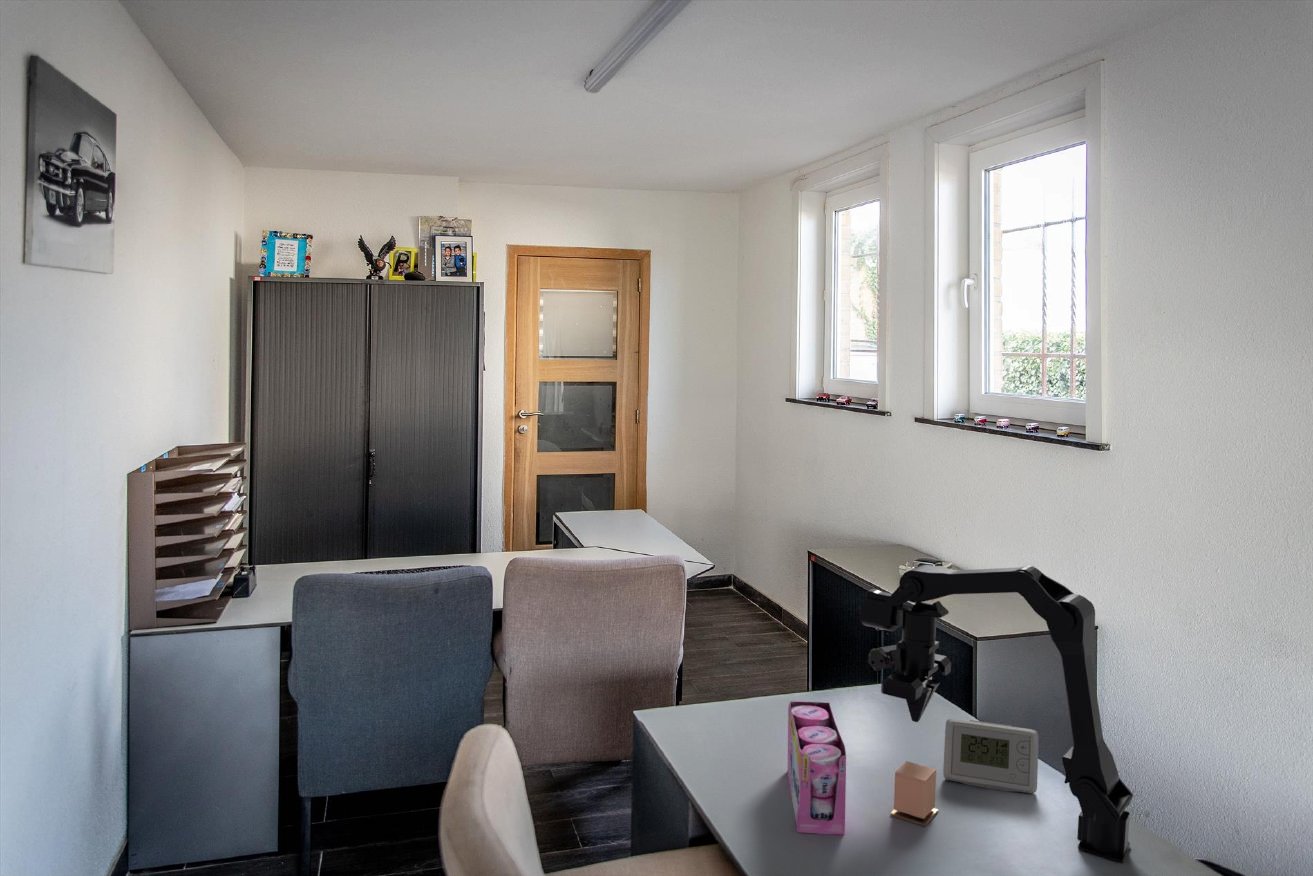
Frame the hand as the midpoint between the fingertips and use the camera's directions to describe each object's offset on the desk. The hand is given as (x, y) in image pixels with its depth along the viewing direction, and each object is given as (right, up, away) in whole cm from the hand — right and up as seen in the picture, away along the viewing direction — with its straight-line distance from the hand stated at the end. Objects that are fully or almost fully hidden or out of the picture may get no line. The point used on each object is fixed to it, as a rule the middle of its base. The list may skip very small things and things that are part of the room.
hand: (915, 721), depth 165 cm
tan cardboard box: (-3, -12, -9) cm, 15 cm away
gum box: (-19, -13, -5) cm, 23 cm away
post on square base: (-3, -13, -9) cm, 16 cm away
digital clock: (+14, -12, +2) cm, 19 cm away
